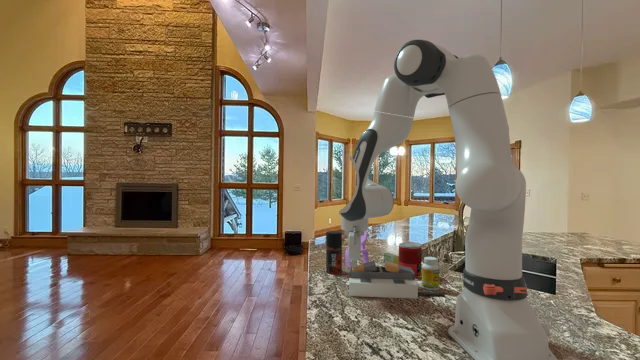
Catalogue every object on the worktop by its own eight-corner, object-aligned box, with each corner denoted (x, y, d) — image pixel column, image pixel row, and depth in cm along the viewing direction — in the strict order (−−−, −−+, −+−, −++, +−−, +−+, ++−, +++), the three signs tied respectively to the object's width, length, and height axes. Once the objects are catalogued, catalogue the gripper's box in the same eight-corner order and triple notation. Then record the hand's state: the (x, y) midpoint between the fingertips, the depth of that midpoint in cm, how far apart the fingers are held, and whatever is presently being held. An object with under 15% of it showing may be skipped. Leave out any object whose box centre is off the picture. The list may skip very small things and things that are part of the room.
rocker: (377, 271, 98) (375, 264, 99) (354, 277, 99) (352, 270, 99) (376, 267, 103) (374, 260, 104) (354, 273, 104) (352, 266, 104)
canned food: (422, 278, 111) (422, 247, 111) (399, 276, 113) (399, 246, 113) (420, 272, 118) (420, 243, 118) (398, 270, 120) (398, 242, 120)
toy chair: (343, 265, 128) (343, 228, 128) (363, 263, 131) (363, 227, 131) (351, 270, 120) (351, 231, 120) (372, 268, 123) (372, 230, 123)
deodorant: (328, 274, 115) (328, 233, 115) (324, 270, 121) (324, 231, 121) (344, 273, 116) (344, 233, 116) (338, 269, 122) (338, 230, 122)
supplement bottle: (426, 283, 105) (426, 255, 105) (442, 287, 101) (442, 258, 101) (418, 287, 101) (418, 258, 101) (434, 292, 97) (434, 261, 97)
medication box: (383, 262, 133) (383, 253, 133) (388, 261, 134) (388, 252, 134) (403, 269, 122) (403, 259, 122) (408, 268, 124) (408, 258, 124)
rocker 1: (409, 279, 97) (411, 272, 97) (385, 272, 98) (387, 265, 98) (406, 274, 102) (408, 267, 102) (383, 267, 103) (385, 260, 103)
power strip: (447, 299, 91) (447, 279, 91) (349, 295, 94) (349, 275, 94) (436, 285, 103) (436, 267, 103) (349, 282, 106) (349, 265, 106)
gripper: (365, 229, 91) (365, 277, 91) (363, 220, 111) (362, 258, 112) (344, 229, 92) (343, 276, 92) (345, 219, 112) (345, 258, 112)
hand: (354, 266), depth 102 cm, fingers closed, pressing on rocker
